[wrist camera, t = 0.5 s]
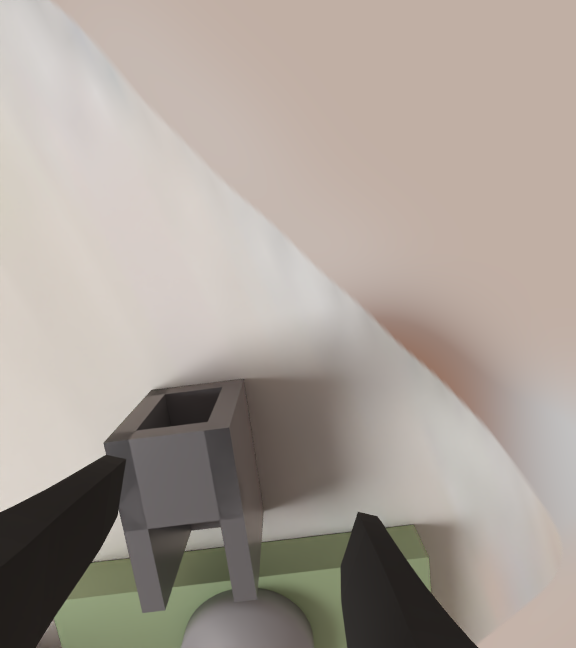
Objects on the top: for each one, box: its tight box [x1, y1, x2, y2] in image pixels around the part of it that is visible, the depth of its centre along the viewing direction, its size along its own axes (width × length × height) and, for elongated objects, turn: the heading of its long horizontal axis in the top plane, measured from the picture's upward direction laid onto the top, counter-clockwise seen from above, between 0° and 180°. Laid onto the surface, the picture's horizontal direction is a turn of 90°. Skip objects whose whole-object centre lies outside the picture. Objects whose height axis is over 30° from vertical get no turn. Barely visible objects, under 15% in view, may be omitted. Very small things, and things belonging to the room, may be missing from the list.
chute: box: [104, 379, 264, 613], centre depth 20 cm, size 5×8×6 cm, turn 7°
